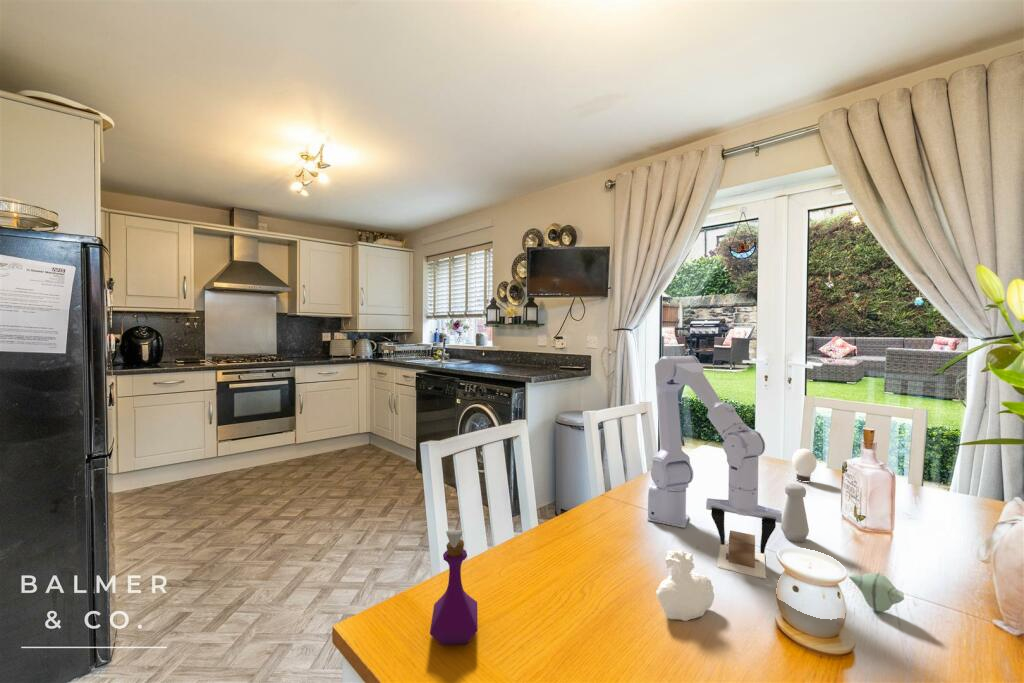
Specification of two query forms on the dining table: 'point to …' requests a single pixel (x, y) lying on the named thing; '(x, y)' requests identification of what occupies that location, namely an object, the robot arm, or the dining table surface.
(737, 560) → the block
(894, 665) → the dining table surface
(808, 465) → the light bulb
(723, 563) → the label tile
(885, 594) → the green seashell
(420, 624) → the dining table surface
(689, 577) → the bust
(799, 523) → the salt shaker
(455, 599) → the perfume bottle
